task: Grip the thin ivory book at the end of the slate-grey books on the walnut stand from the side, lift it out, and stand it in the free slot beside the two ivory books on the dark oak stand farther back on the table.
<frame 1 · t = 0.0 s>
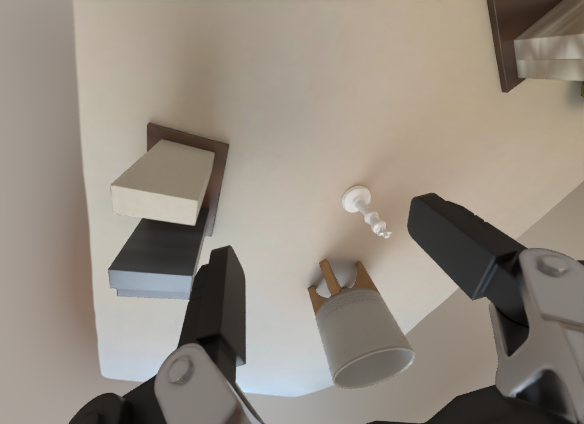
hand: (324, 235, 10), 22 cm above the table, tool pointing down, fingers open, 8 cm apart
grey book stand: (186, 187, 30), on the table
planter: (334, 276, 47), on the table
white book: (188, 155, 27), point 1 cm above the table, touching grey book stand
chess piece: (355, 197, 37), on the table
white book stand: (530, 1, 25), on the table
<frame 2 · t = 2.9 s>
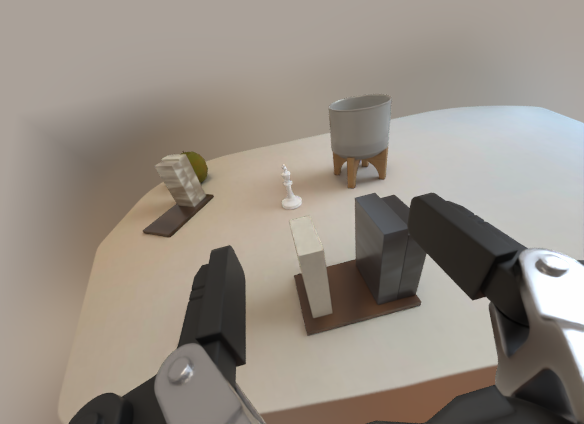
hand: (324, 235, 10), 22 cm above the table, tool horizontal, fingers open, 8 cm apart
grey book stand: (350, 290, 31), on the table
planter: (358, 176, 57), on the table
white book: (316, 295, 31), point 1 cm above the table, touching grey book stand
chess piece: (292, 204, 52), on the table
white book stand: (181, 213, 58), on the table
apple: (198, 182, 73), on the table
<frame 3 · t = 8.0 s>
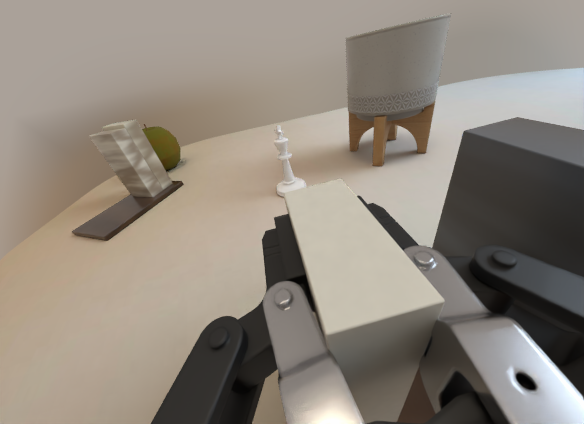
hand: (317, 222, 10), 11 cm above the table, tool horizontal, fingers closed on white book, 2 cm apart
grey book stand: (421, 353, 14), on the table
planter: (385, 151, 40), on the table
white book: (349, 369, 14), point 1 cm above the table, touching grey book stand, gripper
chess piece: (291, 189, 35), on the table
white book stand: (135, 206, 41), on the table
apple: (168, 168, 56), on the table
when the fingers open (11 cm above the table, at t = 21.2 s): white book stays where it is, resting on white book stand.
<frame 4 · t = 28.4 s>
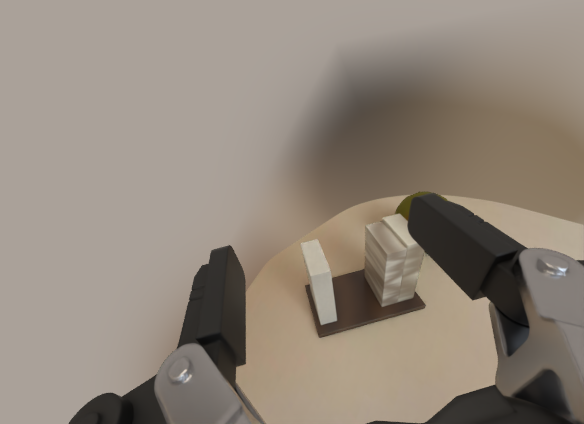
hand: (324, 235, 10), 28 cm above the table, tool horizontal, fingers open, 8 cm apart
white book: (323, 305, 36), point 1 cm above the table, touching white book stand
white book stand: (359, 297, 37), on the table
apple: (419, 239, 44), on the table
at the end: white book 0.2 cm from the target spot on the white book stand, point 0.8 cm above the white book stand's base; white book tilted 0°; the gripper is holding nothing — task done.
